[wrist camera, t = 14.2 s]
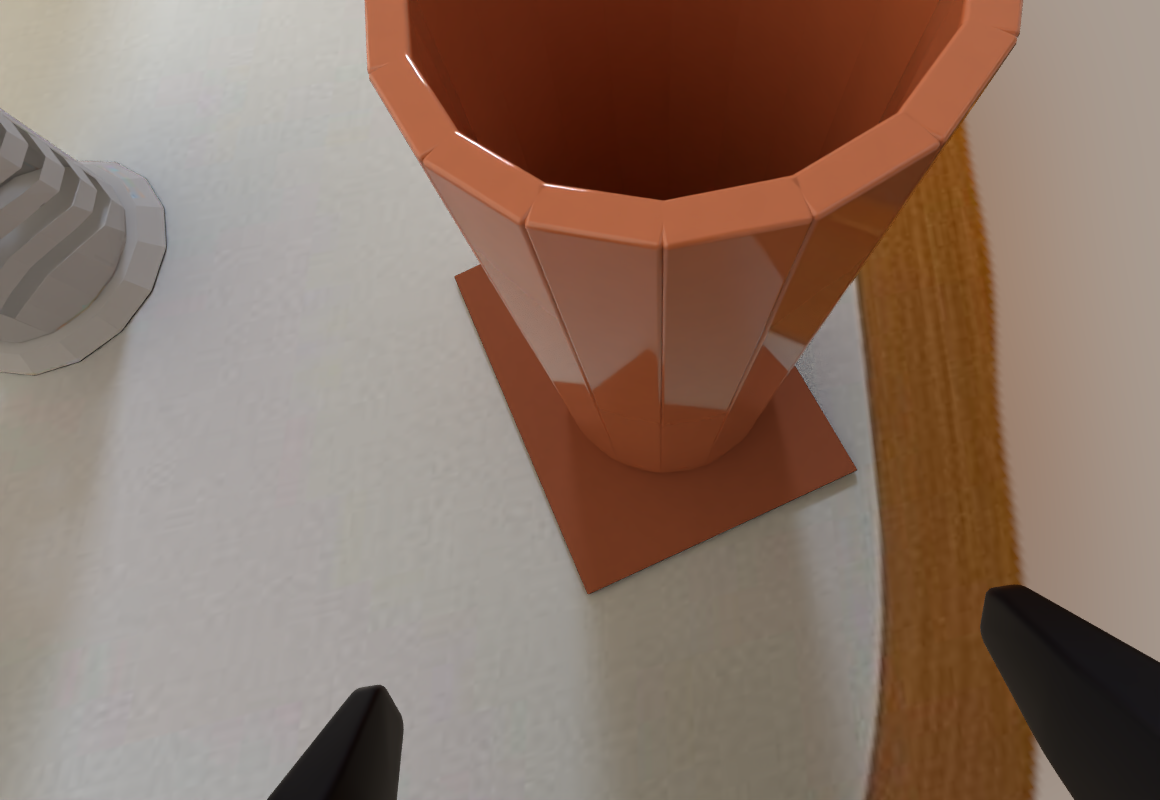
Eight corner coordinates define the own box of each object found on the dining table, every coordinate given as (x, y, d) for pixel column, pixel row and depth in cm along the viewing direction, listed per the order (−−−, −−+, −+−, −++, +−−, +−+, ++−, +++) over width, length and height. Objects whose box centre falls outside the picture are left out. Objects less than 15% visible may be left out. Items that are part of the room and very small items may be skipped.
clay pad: (855, 470, 18) (857, 469, 18) (588, 594, 18) (587, 594, 18) (678, 174, 21) (679, 170, 21) (455, 278, 22) (454, 276, 21)
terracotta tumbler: (746, 495, 18) (995, 303, 5) (541, 446, 19) (272, 183, 6) (783, 301, 19) (1054, -273, 6) (592, 267, 21) (467, -269, 7)
